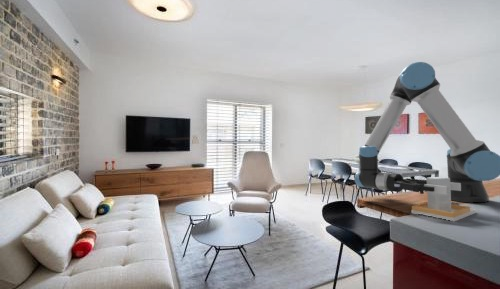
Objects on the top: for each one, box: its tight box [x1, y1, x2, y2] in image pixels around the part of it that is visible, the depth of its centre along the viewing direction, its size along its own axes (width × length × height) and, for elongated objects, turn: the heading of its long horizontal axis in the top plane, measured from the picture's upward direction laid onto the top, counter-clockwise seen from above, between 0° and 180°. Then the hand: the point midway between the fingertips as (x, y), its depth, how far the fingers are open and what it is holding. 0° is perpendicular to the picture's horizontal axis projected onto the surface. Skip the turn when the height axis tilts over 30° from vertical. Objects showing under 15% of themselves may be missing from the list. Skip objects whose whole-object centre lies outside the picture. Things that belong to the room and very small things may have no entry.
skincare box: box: [426, 176, 452, 212], centre depth 89 cm, size 6×4×12 cm
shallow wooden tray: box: [411, 201, 477, 223], centre depth 90 cm, size 18×13×3 cm
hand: (453, 188), depth 86 cm, fingers open, 10 cm apart
